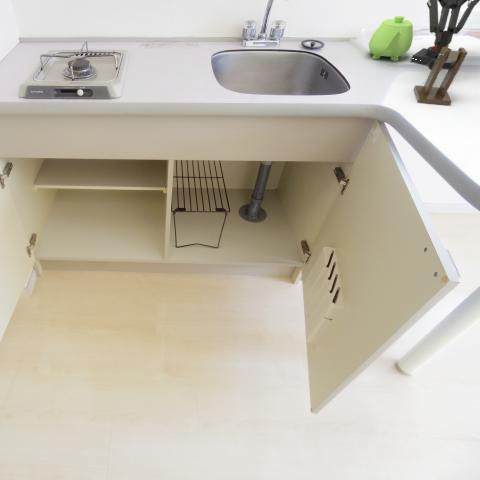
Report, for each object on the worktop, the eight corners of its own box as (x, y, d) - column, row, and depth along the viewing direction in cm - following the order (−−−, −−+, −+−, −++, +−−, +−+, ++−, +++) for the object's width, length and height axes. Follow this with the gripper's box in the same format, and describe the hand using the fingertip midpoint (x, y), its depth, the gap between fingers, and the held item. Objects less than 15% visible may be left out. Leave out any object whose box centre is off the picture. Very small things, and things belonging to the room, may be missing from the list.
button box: (457, 61, 121) (464, 48, 118) (448, 69, 116) (455, 56, 113) (420, 54, 127) (425, 42, 124) (410, 61, 122) (415, 49, 120)
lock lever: (424, 71, 107) (429, 58, 106) (438, 72, 106) (442, 59, 104) (442, 62, 94) (448, 47, 93) (458, 63, 93) (464, 48, 92)
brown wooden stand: (413, 89, 106) (434, 43, 97) (443, 91, 104) (468, 44, 95) (417, 102, 100) (440, 54, 91) (449, 105, 97) (477, 56, 88)
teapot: (406, 67, 119) (424, 25, 110) (364, 63, 124) (378, 22, 115) (404, 49, 132) (420, 10, 123) (366, 46, 136) (378, 8, 127)
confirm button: (447, 50, 119) (450, 44, 118) (443, 53, 117) (446, 47, 116) (434, 48, 121) (437, 42, 120) (430, 50, 119) (433, 45, 118)
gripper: (478, -15, 103) (458, 63, 104) (428, -16, 107) (409, 60, 108) (494, -35, 96) (472, 49, 97) (440, -35, 100) (419, 46, 101)
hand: (439, 55), depth 103 cm, fingers closed
